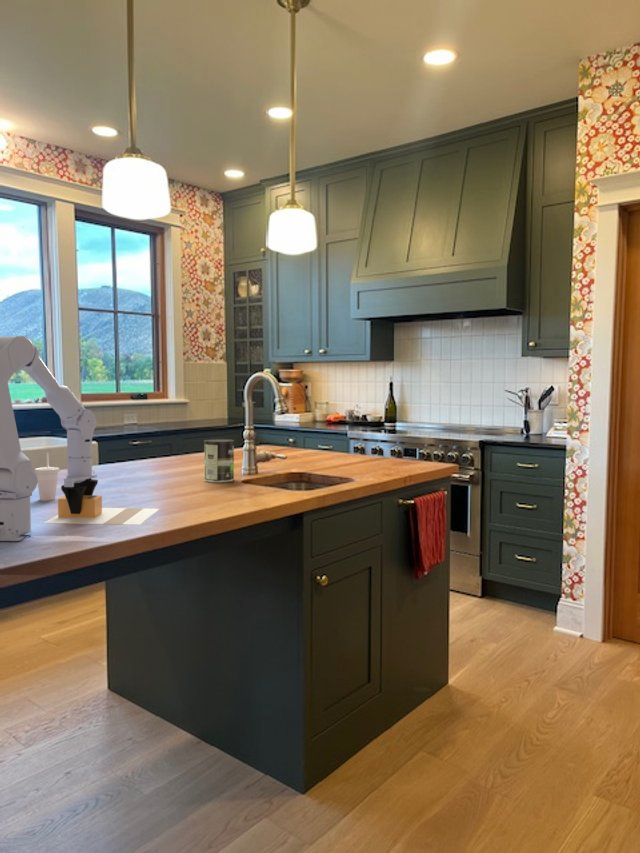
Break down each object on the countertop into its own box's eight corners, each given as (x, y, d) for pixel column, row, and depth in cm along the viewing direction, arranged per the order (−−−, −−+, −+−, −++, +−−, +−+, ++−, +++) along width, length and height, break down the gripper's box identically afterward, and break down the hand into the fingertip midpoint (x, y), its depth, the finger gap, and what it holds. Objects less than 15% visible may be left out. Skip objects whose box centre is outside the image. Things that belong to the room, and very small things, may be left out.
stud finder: (94, 517, 154) (94, 498, 154) (58, 516, 154) (57, 497, 154) (101, 513, 159) (101, 494, 159) (66, 512, 159) (66, 494, 159)
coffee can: (236, 478, 224) (236, 439, 223) (231, 483, 213) (231, 441, 212) (207, 477, 224) (207, 438, 223) (201, 482, 214) (201, 441, 213)
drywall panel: (139, 528, 148) (139, 524, 148) (42, 527, 148) (42, 522, 148) (159, 512, 166) (159, 508, 166) (72, 510, 166) (72, 507, 166)
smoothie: (63, 500, 179) (62, 451, 178) (54, 505, 173) (54, 454, 172) (40, 500, 179) (39, 451, 178) (31, 504, 173) (30, 454, 172)
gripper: (84, 461, 149) (85, 517, 150) (105, 453, 163) (106, 505, 164) (55, 460, 149) (55, 517, 150) (78, 453, 163) (79, 504, 164)
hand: (80, 511), depth 157 cm, fingers open, 5 cm apart
